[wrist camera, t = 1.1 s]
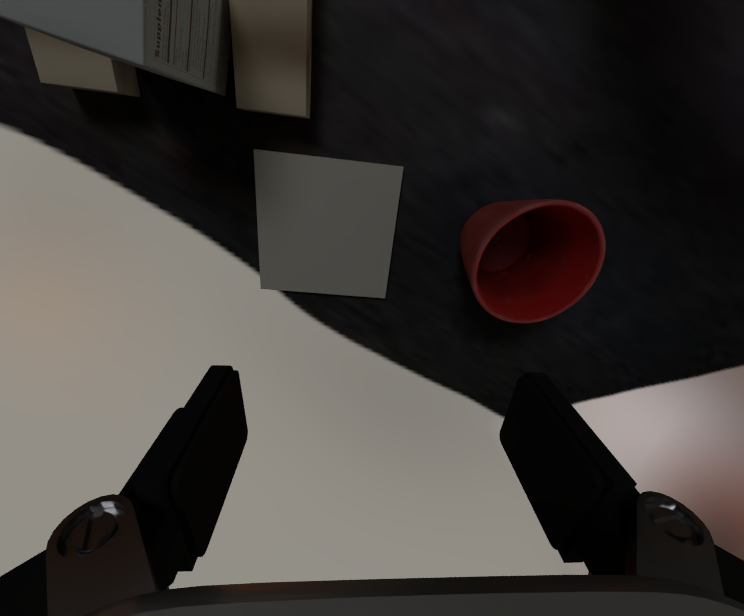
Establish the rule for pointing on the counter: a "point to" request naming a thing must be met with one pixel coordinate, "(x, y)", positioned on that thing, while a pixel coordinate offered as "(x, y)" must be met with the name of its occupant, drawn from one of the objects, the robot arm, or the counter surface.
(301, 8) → the box dock
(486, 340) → the counter surface
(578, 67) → the counter surface
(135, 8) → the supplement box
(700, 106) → the counter surface
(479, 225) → the flower pot
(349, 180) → the tile
